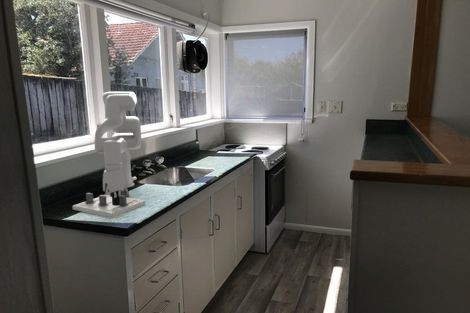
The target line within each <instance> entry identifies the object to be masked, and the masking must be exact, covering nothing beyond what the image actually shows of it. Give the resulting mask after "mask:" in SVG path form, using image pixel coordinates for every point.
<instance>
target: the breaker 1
mask: <svg viewBox="0 0 470 313" xmlns="http://www.w3.org/2000/svg"><path fill="white" fill-rule="evenodd" d="M85 198H86V199H85V200H86V201H84V202H85V203H90V204H91V203H94V202H95V201H93V199H94V193H93V192H92V193H91V192H87V193H86V192H85Z"/></svg>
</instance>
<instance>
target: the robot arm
mask: <svg viewBox="0 0 470 313" xmlns="http://www.w3.org/2000/svg"><path fill="white" fill-rule="evenodd" d="M102 101H103V104H105V108H104V109H105V114H104V116H105V118H104V120H103V121H102V122H101V123H100V124H99V125H98V126H97V128H96V130H95V133H94V151H95V152H96V153H97V154H99V155H104V156H103V158H104V170H103V174H102V191H103V192H105V195H110V196H111V197H112V205H115V206H118V205H120V199H119V197H120V195H121V192H122V191H124V188H125V184H126V187H127V189H128V188H131V187H134V186H135V182H134V181H136V180H137V177H136V176H132V172H131V171H132V170H131V156H130V154H129V153H128V152H127V151H126V150H138V149H141V148H142V132H141V131H142V130H141V129H142V128H141V121H140V118H138V116H132V115H131V116H127V111H128V112H131V111H135V109H136V106H137V96H136V94H135V92H134V91H107V92H103V94H102ZM111 130H112V132H114V133H115V134H113V135H112V136H110V137H103V136H104V135H105V134H106V133H108V132H110V131H111Z"/></svg>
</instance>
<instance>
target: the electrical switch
mask: <svg viewBox="0 0 470 313" xmlns="http://www.w3.org/2000/svg"><path fill="white" fill-rule="evenodd" d="M121 195H124V196H126V197H127V198H130V196H131V195H130V193H129V190H128V188H127V187H126V184H125V188H124V191H122V192H121Z"/></svg>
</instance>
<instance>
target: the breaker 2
mask: <svg viewBox="0 0 470 313" xmlns="http://www.w3.org/2000/svg"><path fill="white" fill-rule="evenodd" d="M105 195H106V194H100V195H98V197H99V204H98V205H101V206H105V205H108V204H109V203H107V202H106V196H105Z"/></svg>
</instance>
